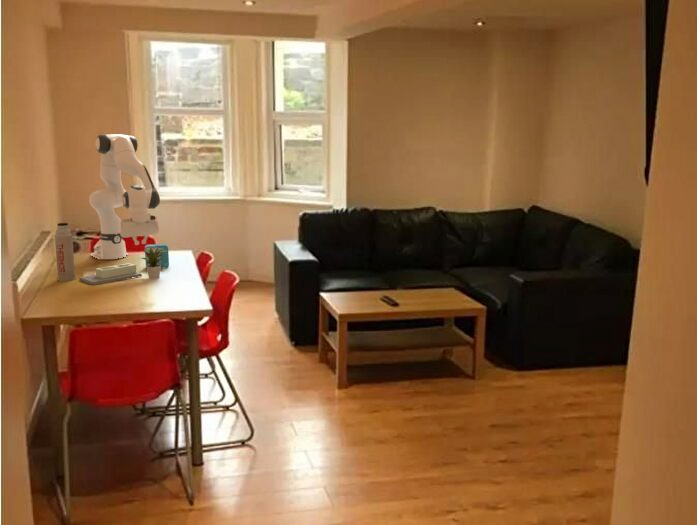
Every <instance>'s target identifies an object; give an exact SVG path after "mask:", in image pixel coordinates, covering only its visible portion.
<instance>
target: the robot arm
mask: <svg viewBox="0 0 697 525" xmlns="http://www.w3.org/2000/svg"><path fill="white" fill-rule="evenodd" d="M94 145H95V148H96V151H97V152H98V154H99V153H100V154H101V155H100V167H99V169H100V170H99V178H100V179H101V180H102V181H103V182H104V184H105V189H98V190H96V191H93V192H92V193H91V194H90V195H89V198H88V201H89V205H90V206H91V208H93V209H94V210H95V211H96V214H97V215H98V218H99V223H100V233H99V240H98V241H97V242H96V244H95V245H94V246H93V252H92V253H90V256H91V257H92V256H93V257H92V258H94V257H95V259H96V258H97V259H96V260H119V259H123V257H124V258H126V257H127V256H128V255H129V253H128V252H127V248H126V242H125V240H124V239H125V238H132V240H133V241H134V245H135V246H138V245H140V241H139V240H137V239H138V237H141V236H142V237H143V239H142V240H141V244H142V245H147V240H148V237H149V235H155V234H159V230H160V228H159V223H158V220H157V219H158V216H157V215H154V214H151V213H149V209H150V210H151V209H152V210H154V209H156V208H157V207H159V205H160V203H161V197H160V194H159V192H158V191H157V189H156V187H155V185H154V183H153V180H152V178H151V176H150V173H149V171H148V168H147V166H146V165H145V164H144V163H143V162H141V161H140V160H139V158H138V157H137V155H136V154H137V153H136V152H137V150H138V148H139V147H138V146H139V144H138V140H137V138H136V137H135V136H133V135H131V134H130V135H129V134H128V135H126V134H121V133H120V134H119V133H118V134H117V133H114V134H110V133H109V134H105V133H102V134H99V135H97V136H96V139H95V144H94ZM122 172H123V173H126V174H129V175H133V176H135V177H137V178H139V179H140V180H141V182H142V184H143V185H141V184H132V185H130V186H129V187H128V188H129V190H126V189H125V187H124V186H123V183H122ZM122 206H123V207H125V208H126V209H129V218H123V219H121V218H120V216H118V215H117V214H116V212H115V209H116V208H121V207H122ZM126 255H127V256H126ZM118 258H119V259H118Z"/></svg>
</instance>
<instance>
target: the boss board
mask: <svg viewBox="0 0 697 525" xmlns="http://www.w3.org/2000/svg"><path fill="white" fill-rule="evenodd" d="M136 272H137V273H132V274H126V275H120V276H114V277H109V278H99V277H96V274H92V275H86V276H81V277H80V276H79V277H78V279H79V281H80V282H83V283H85V284H89V285H92V286H97V285H102V283H103V284H107V283H108V282H109V283H113V281H114V282H118V281H117V280H120V281H123V280H122V279H125V280H128V279H127V278H131V279H133V278H132V277H136V278H139V277H138V276H142V277H143V275H142V273H141V272H138V271H136Z"/></svg>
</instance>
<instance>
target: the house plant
mask: <svg viewBox="0 0 697 525" xmlns="http://www.w3.org/2000/svg"><path fill="white" fill-rule="evenodd" d="M158 247H159V246H158ZM158 247H157V249H156V250H155V252H154V255H153V249H152V246H151V248H149V250H148V251H149V252H150V253H148V252H145V249H144V250H142V251H143V253H144V255H145V254H146V255H147V256H148V259H149V260H150V261H148V260H147V259H146V258H145V257H141V258H140V260H141V259H142V260H146V261H145V264H146V263H149V264H150V265H147V266H146V265H145V267H146V268H145V269H146V271H147V276H148V279H150V280H156V279H160V276H161V269H162V268H161V265H159V264H158V263H159V262H158V261H161V262H162V260H163V258H164V257H163V258H162V259H160V258H159V259H158V257H160V256H162V255H164V254H161V255H159V254H160V253H161V252H160V251H161V249H162V248H161V249H160V250H159V251H158V252H157V250H158ZM164 251H165V250H164ZM162 253H163V251H162ZM166 254H169V252H168V253H166ZM157 259H158V260H157Z"/></svg>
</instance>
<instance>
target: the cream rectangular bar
mask: <svg viewBox="0 0 697 525" xmlns="http://www.w3.org/2000/svg"><path fill="white" fill-rule="evenodd" d="M137 272H138V271H137V264H134V263H130V262H126V263H122V264H116V265H110V266H103V267H97V268H95V275H96V277H99V278H109V277H114V276H120V275H126V274H132V273H137Z"/></svg>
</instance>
